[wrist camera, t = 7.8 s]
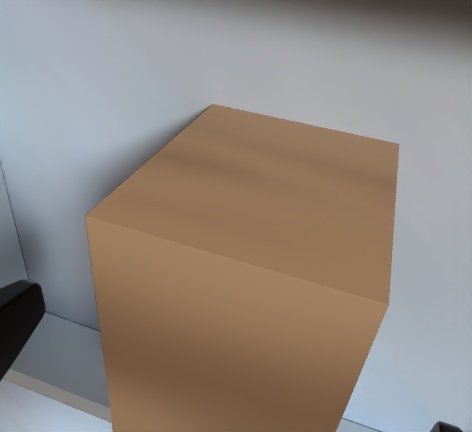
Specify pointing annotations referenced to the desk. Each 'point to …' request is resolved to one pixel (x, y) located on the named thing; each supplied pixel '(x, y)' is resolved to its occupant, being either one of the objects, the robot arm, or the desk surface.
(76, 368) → the gray tray
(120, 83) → the desk surface
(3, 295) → the robot arm
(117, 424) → the walnut block
